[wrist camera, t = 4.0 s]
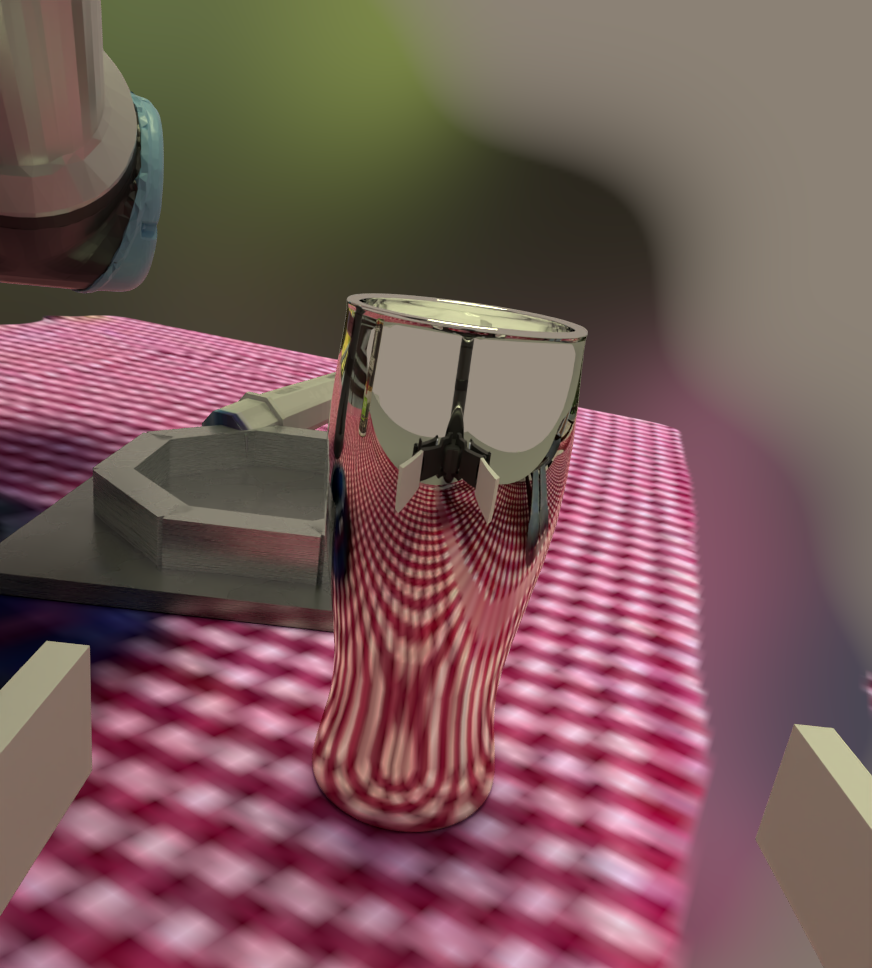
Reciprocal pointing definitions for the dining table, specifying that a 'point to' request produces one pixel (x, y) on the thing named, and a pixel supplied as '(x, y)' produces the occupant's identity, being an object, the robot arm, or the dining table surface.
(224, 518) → the collar
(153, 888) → the dining table surface
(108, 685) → the dining table surface
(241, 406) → the beige knobbed rod
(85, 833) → the dining table surface
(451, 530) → the chrome metal cup
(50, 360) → the dining table surface
